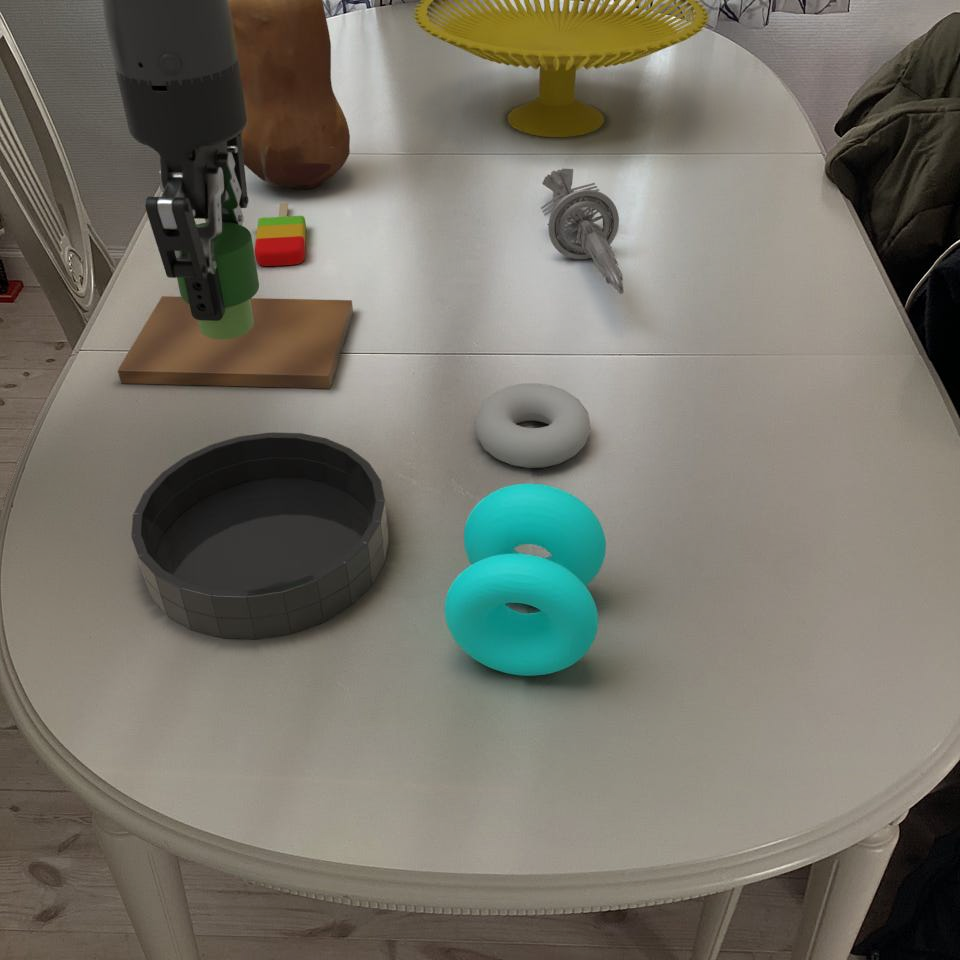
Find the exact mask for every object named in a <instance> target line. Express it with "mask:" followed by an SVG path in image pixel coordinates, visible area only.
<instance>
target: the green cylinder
mask: <svg viewBox="0 0 960 960" xmlns="http://www.w3.org/2000/svg"><path fill="white" fill-rule="evenodd" d="M207 223H208V222H207ZM207 223H206V222H202V223H201V222H200V223H196V226H205V225H207ZM200 241H201V245H202V248H203V241H202V239H201V238H200ZM215 244H216V262H217V268H216V269H217V270H218V275H219V280H220V286H221V291H222V296H223V302H224V307H225V313H224V315H223V317H222V319H221V320H219V321H206V320H198V325H199V329H200V332H201V333H202V334H203V335H204V336H206V337H209V338H212V339H232V338H236V337H239V336H242V335H244V334H246V333H247V332H249V331H250V330H251V329H252V327H253V325H254V319H253V313H252V307H251V301H250V298H254V296H256V294H257V293H258V291H259V288H260V281H259V275H258V269H257V261H256V257H255V248H254V244H253V238H252V233H251V231H250V230H249V229H248V228H247V227H245V226H243V225H242V226H241V225H239V224H235V223H230V222H222V234H221V236H220V237H218V238H217V239H216V241H215ZM174 252H175V251H174ZM188 255H189V253H188ZM176 280H177V284H178V289H179V294H180V297H182V299H183V300H184V301H185V302H186V303H188V304H189V299H188V295H187V290H186V285H185V280H184V278H181V277H176Z"/></svg>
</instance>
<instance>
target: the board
mask: <svg viewBox="0 0 960 960" xmlns="http://www.w3.org/2000/svg"><path fill="white" fill-rule="evenodd" d="M250 301H251V307H252V313H253V319H254V325H253V327H252V329H251V330H250V331H249V332H247V333H246V334H244V335H242V336H239V337H236V338H232V339H212V338H209V337H206V336H204V335H203V334H202V333H201V332H200V329H199V325H198V320H197V319H195V318H194V317H193V316H192V313H191V309H190V304H188V303H186V302H185V301H184V300H183V299H182V297H181V296H173V295H171V296H170V295H169V296H167V295H166V296H165V295H162V296H161V297H160V299H159V300H158V302H157V304H156V306H155V307H154V309H153V310H152V312H151V314H150V316H149V317H148V319H147V320H146V322H145V323H144V326H143V327H142V329H141V331H140V332H139V333H138V335H137V337H136V338H135V340H134V342H133V344H132V345H131V347H130V349H129V350H128V352H127V354H126V356H125V357H124V358H123V360H122V362H121V364H120V365H119V366H118V369H117V373H118V377H119V381H120V383H121V384H130V385H131V384H133V385H141V384H142V385H169V386H171V385H172V386H174V385H176V386H177V385H178V386H208V387H209V386H211V387H212V386H213V387H214V386H217V387H252V388H253V387H256V388H257V387H258V388H262V387H263V388H287V389H288V388H289V389H290V388H293V389H294V388H295V389H297V388H298V389H328V390H329V389H331V387H332V384H333V381H334V377H335V374H336V371H337V367H338V364H339V361H340V357H341V354H342V350H343V348H344V344H345V341H346V338H347V334H348V330H349V328H350V324H351V321H352V318H353V314H354V307H353V306H354V305H353V300H352V299H315V298H314V299H313V298H310V299H309V298H262V297H252V298H250Z"/></svg>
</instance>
